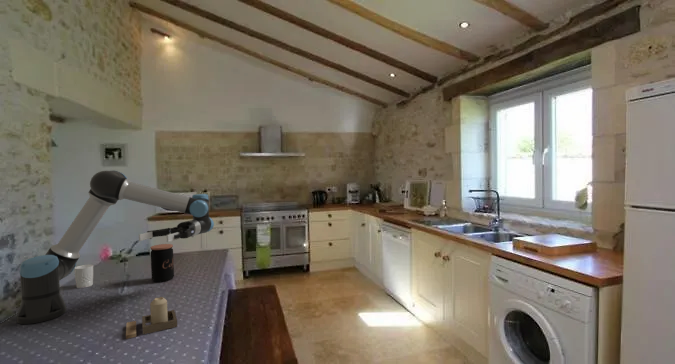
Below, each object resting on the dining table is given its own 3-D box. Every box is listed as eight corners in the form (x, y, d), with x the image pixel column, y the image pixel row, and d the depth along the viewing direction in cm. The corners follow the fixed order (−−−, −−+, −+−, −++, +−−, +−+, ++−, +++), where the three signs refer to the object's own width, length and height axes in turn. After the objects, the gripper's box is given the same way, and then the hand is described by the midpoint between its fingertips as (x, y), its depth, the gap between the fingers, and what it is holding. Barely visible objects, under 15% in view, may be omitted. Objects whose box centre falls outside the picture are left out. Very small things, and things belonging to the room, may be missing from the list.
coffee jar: (165, 283, 176) (163, 248, 176) (147, 282, 178) (145, 248, 178) (178, 276, 187) (177, 244, 186) (161, 276, 189) (160, 243, 188)
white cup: (71, 287, 173) (70, 268, 173) (87, 282, 180) (86, 263, 180) (81, 289, 170) (80, 269, 170) (97, 284, 177) (96, 265, 177)
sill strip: (126, 339, 117) (125, 335, 117) (126, 325, 127) (126, 322, 127) (136, 336, 118) (136, 333, 118) (136, 323, 129) (136, 320, 129)
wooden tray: (142, 334, 120) (142, 327, 120) (142, 323, 129) (142, 316, 129) (177, 326, 125) (177, 319, 125) (174, 316, 135) (174, 309, 135)
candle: (156, 329, 124) (155, 302, 123) (148, 326, 126) (146, 299, 126) (170, 323, 128) (169, 297, 128) (162, 320, 131) (161, 294, 131)
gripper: (211, 237, 157) (179, 248, 137) (166, 236, 164) (128, 246, 143) (211, 221, 157) (179, 229, 136) (165, 220, 163) (127, 228, 143)
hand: (153, 238), depth 140 cm, fingers open, 13 cm apart
